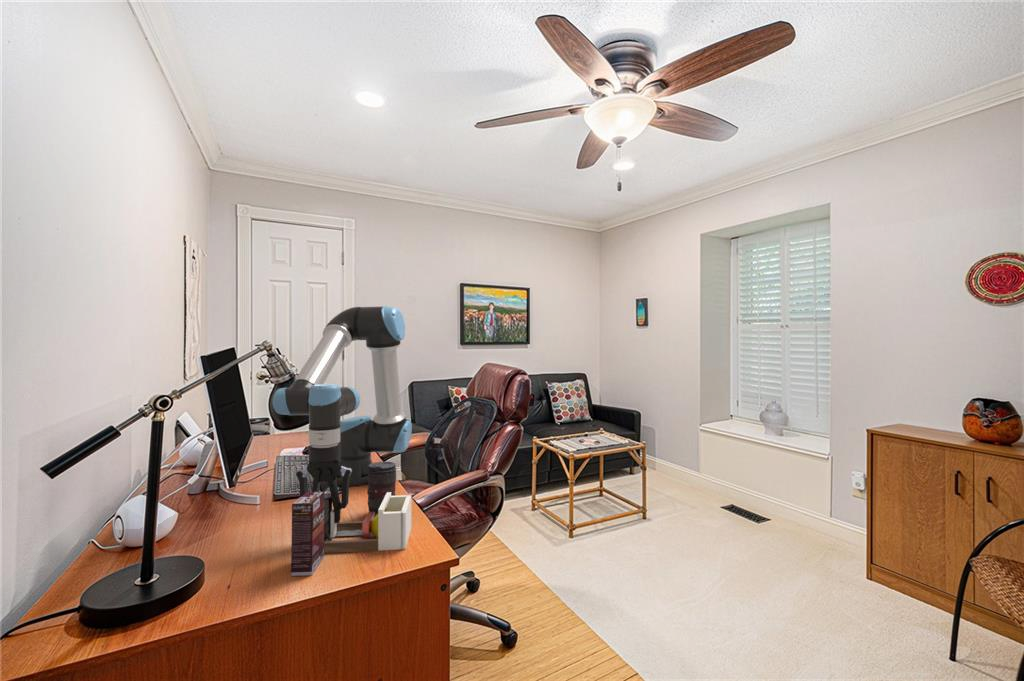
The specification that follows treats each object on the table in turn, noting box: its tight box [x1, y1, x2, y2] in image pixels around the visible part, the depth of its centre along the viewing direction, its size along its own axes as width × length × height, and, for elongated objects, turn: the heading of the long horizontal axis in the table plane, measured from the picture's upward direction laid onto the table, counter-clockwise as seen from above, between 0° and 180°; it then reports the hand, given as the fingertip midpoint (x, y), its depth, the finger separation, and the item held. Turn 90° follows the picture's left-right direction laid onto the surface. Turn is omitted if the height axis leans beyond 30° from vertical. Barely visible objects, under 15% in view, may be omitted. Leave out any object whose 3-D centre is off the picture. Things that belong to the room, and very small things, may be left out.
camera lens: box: [366, 461, 397, 516], centre depth 135 cm, size 8×8×15 cm
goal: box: [377, 492, 412, 552], centre depth 119 cm, size 13×7×10 cm, turn 6°
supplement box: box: [290, 491, 326, 577], centre depth 104 cm, size 9×5×16 cm, turn 5°
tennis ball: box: [371, 511, 389, 539], centre depth 118 cm, size 7×7×7 cm
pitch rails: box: [324, 520, 378, 554], centre depth 117 cm, size 13×17×2 cm
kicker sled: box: [324, 495, 375, 541], centre depth 117 cm, size 8×14×11 cm, turn 96°
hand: (324, 535), depth 117 cm, fingers open, 4 cm apart
